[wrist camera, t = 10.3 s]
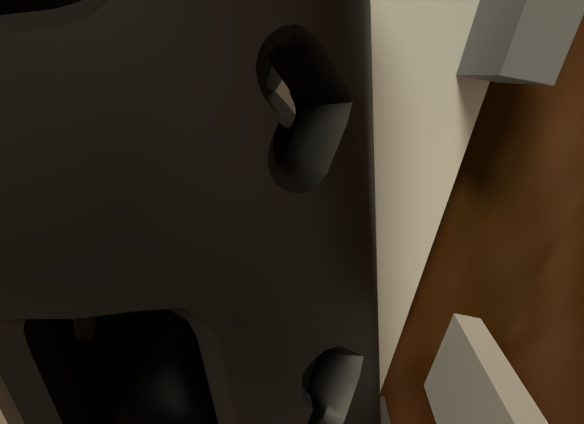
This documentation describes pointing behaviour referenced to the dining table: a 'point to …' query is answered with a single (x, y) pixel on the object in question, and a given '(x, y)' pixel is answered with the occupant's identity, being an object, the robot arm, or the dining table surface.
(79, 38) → the muzzle brake
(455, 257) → the dining table surface
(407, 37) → the mounting board
